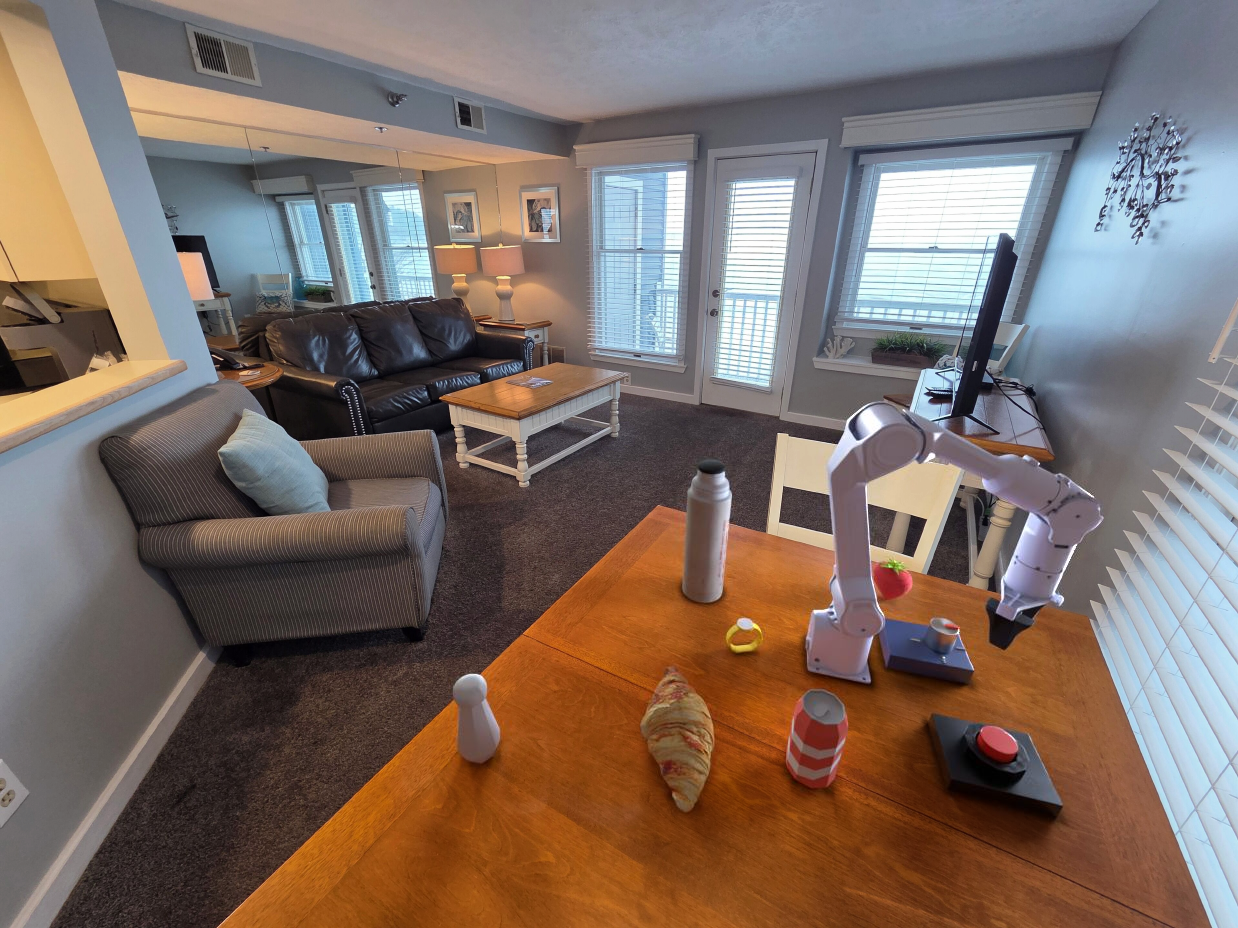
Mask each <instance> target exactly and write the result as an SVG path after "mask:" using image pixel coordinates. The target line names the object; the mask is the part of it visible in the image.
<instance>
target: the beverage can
mask: <svg viewBox="0 0 1238 928" xmlns="http://www.w3.org/2000/svg"><path fill="white" fill-rule="evenodd" d="M790 725H791V726H790V730H789V736H788V741H787V745H786V750H785V766H786V768H787V770H789V773H790V774H791V775H792V777H793V778H794V780H796V781H797V782H799V783H801V784H802V785H805V786H806V787H808V788H810V789H826V788H827V787H828V786H829V785H830V784H831V783H832V782H833V781H834V780H835V779H836V775H837V771H838V769H839V765H840V761H841V756H842V753H843V750H844V746H845V742H846V739H847V738H846V737H847V734H848V730H849V722H848V715H847V712H846V707H845V704H844V703H843V701H841V699H839V697H838V696H837V695H836V694H833V693H831V692H829V691H827V690H825V689H823V688H820V689H814V688H813V689H808V690H807V691H806V692H805V693H804V694H803V695H802V696H801V698H800V699H798V701H796V702H795V706H794V710H793V716H792V721H791V724H790Z"/></svg>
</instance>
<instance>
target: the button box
mask: <svg viewBox="0 0 1238 928" xmlns="http://www.w3.org/2000/svg"><path fill="white" fill-rule="evenodd" d="M928 719H929V720H928V722H927V725H928V728H929V732H930V735H931V738H932V741H933V742H932V743H933V746H934V749H935V752H936V756H937V759H938V763H939V767H940V769H941V773H942V776H943V780H944V783H945V786H946V789H947V790H948V791H953V792H956V793H959V794H963V795H968V796H972V797H976V798H980V799H984V800H988V801H992V802H995V803H1000V804H1004V805H1007V806H1012V807H1016V808H1020V809H1023V810H1028V811H1031V812H1036V813H1040V814H1044V815H1049V816H1050V817H1051V816H1052V817H1056V818H1057V817H1058V816H1059V814H1060V813H1061V811H1062V809H1063V808H1064V804H1063V803H1062V802H1063V801H1061V798H1060V796H1059V794H1058V791H1057V790H1056V788H1055V786H1054V783H1053V782H1052V780H1051V777H1050V775H1049V774H1048V771H1047V770H1046V767H1045V765H1044V763H1043V761H1042V759H1041V757H1040V755H1039V753H1038V751H1037V749H1036V747H1035V744H1034V742H1033V741H1032V739H1031V738H1032V737H1031V736H1030V735H1029V733H1025V732H1020V731H1017V730H1011V729H1006V728H1003V727H998V726H995V725H993V724H988V723H984V722H974V721H969V720H965V719H960V718H957V717H951V716H946V715H942V714H938V713H933V712H931V713H930V717H929V718H928ZM986 726H992V727H996V728H999V729H1001V730H1003V731H1005V732H1006V733H1008V734H1009V735H1010V736H1011V737H1012V738H1013V739H1014V740H1015V741H1016V743H1017V746H1018V751H1017V753H1016V755H1015V757H1014V759H1013V760H1012V761H1011V762H1008V763H1002V762H998V761H996V760H994V759H992V758H991V757H989V756H987V755H986V754H985V753H984V752H983V751H982V750H981V749H980V748H979V746H978V743H977V739H978V736H979V734H980V732H981V729H982V728H984V727H986Z"/></svg>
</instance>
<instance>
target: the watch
mask: <svg viewBox="0 0 1238 928" xmlns="http://www.w3.org/2000/svg"><path fill="white" fill-rule="evenodd" d="M752 631H756V632H757V636H756V638H755V640H754V641H751V643H749V644H742V645H741V644H740V645H734V644H732V643H731V641H732V638H733V637H734V635H735V634H737V633H738V632H741V633H751V632H752ZM725 640H726V641H725V642H727V646H728V648H729V649H730V650H731V652H733V653H736V654H740V653H741V654H742V653H749V652H754V651H755V650H757V649H758V648H759V647H760V646H761V644H762V642H763V640H764V638H763V632H762V631H761V628H760V627H759V625H758V624H756V623H754V621H752V619H750V618H747V617H741V618H739V619H737V621H736V624H733V625H732V626H731V627H730V628H729V629H728V631H727V632H726V637H725Z"/></svg>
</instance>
